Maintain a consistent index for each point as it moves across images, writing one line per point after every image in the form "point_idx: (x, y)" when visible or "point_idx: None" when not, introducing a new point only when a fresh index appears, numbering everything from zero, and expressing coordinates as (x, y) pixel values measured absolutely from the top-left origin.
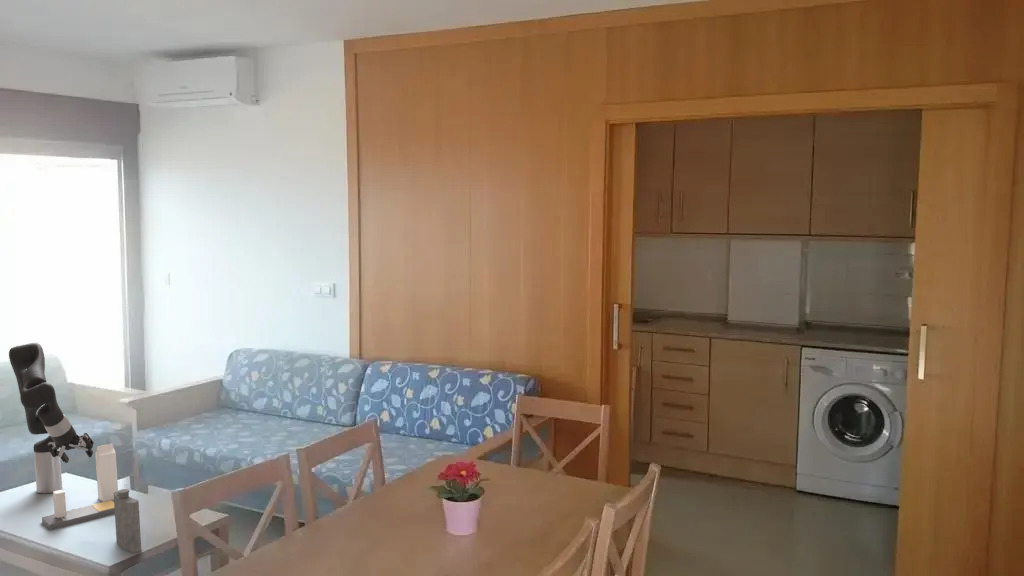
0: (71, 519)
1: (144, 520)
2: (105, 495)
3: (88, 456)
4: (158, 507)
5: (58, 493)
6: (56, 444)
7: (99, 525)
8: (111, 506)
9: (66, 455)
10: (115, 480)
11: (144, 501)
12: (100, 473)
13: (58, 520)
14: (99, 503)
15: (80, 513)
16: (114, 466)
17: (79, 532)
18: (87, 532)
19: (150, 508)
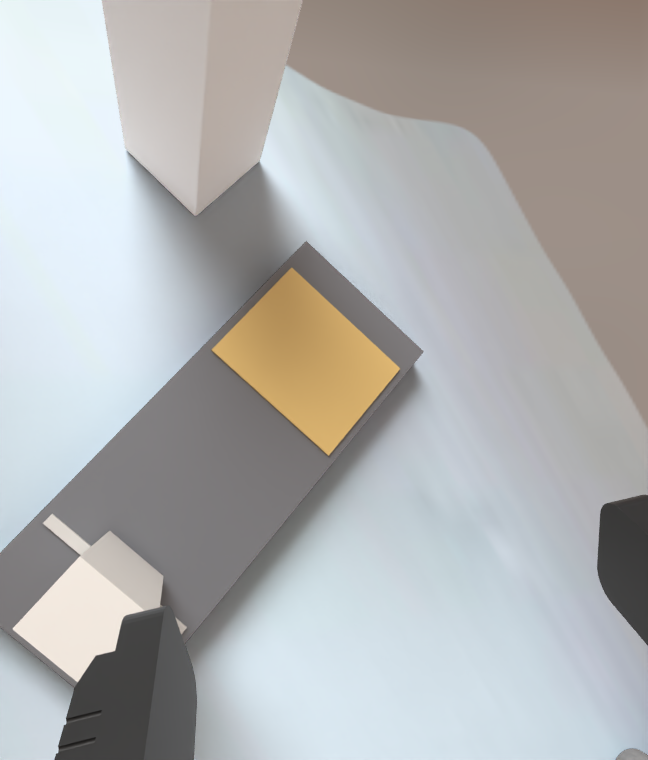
0: (219, 601)
1: (585, 490)
2: (211, 187)
3: (623, 616)
4: (552, 309)
5: None
6: None
7: (396, 586)
8: (358, 373)
9: (156, 716)
10: (271, 92)
11: (435, 220)
12: (195, 89)
13: None
14: (250, 323)
15: (220, 495)
16: (293, 3)
17: (343, 708)
18: (390, 700)
19: (521, 323)
